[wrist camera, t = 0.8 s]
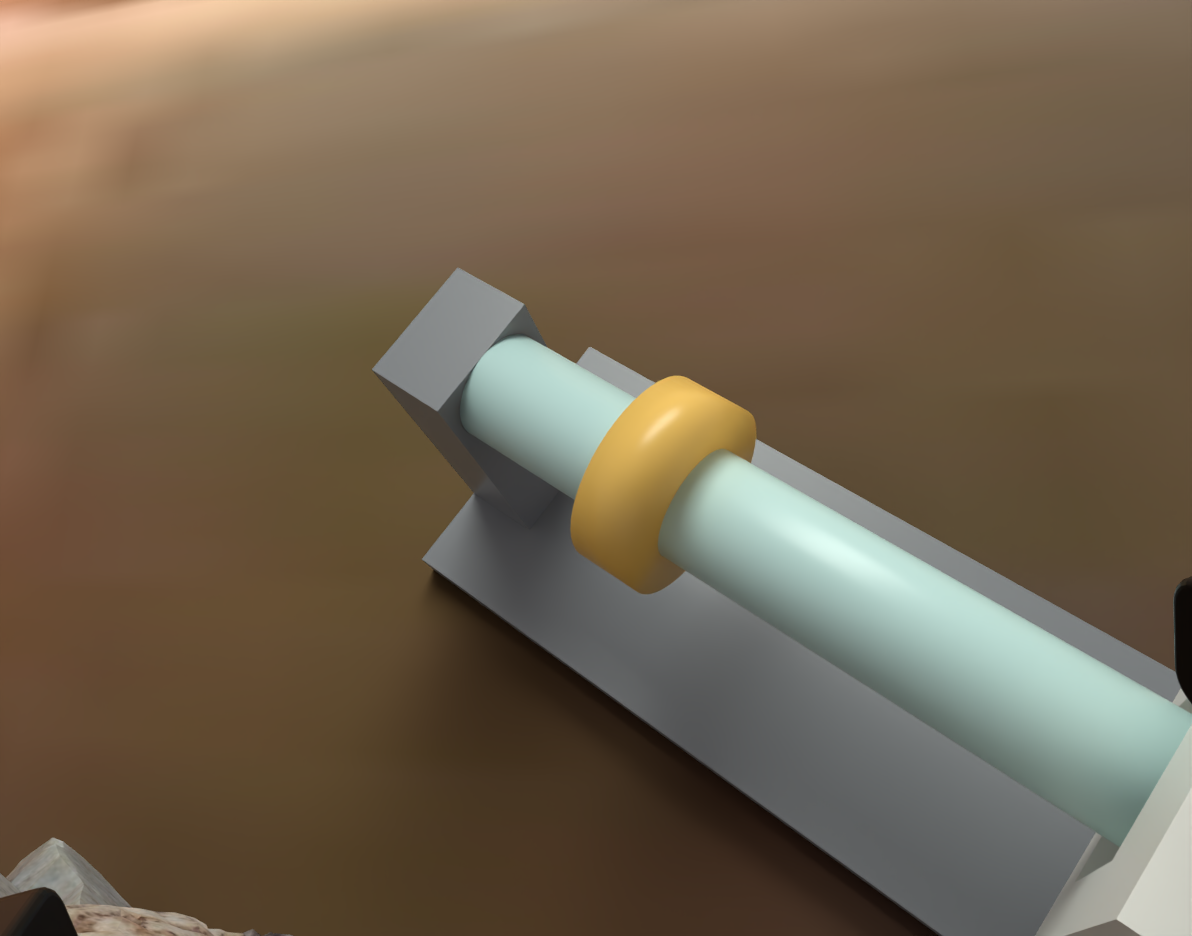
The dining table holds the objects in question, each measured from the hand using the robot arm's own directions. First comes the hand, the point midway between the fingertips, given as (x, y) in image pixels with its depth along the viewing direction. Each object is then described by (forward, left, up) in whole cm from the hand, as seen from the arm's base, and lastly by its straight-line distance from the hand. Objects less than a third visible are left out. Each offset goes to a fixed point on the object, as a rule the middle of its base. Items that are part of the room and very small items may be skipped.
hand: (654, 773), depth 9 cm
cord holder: (0, -4, -13) cm, 13 cm away
